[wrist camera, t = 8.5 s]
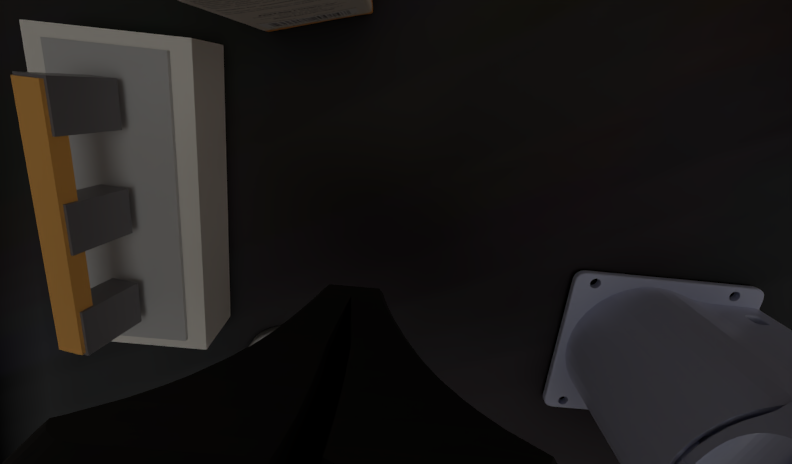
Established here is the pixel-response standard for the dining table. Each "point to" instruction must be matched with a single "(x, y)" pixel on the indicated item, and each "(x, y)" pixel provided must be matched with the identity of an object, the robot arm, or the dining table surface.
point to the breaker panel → (155, 171)
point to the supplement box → (283, 11)
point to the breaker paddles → (75, 204)
